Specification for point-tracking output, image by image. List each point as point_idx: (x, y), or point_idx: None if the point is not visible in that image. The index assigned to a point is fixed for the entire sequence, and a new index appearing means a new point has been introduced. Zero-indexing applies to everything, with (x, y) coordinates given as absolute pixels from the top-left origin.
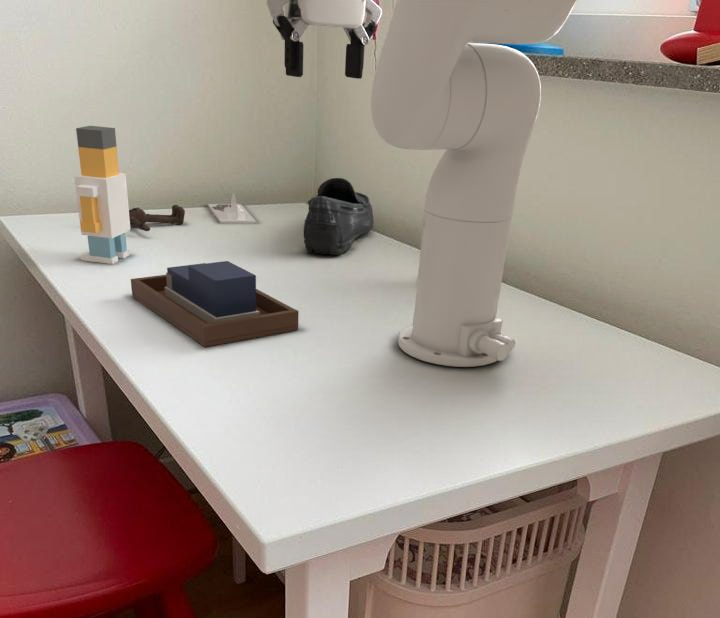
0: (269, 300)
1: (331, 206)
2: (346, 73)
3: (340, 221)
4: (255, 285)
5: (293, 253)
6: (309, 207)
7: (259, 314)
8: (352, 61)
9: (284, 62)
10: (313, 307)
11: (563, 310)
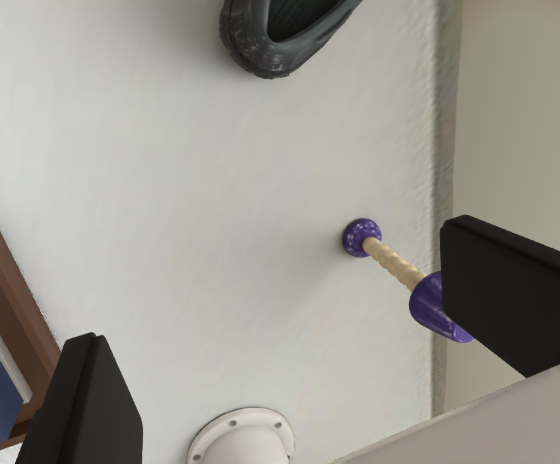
0: (49, 378)
1: (283, 58)
2: (446, 241)
3: (296, 62)
4: (11, 428)
5: (193, 18)
6: (244, 4)
7: (30, 398)
8: (490, 308)
9: (31, 421)
10: (133, 326)
11: (422, 354)
